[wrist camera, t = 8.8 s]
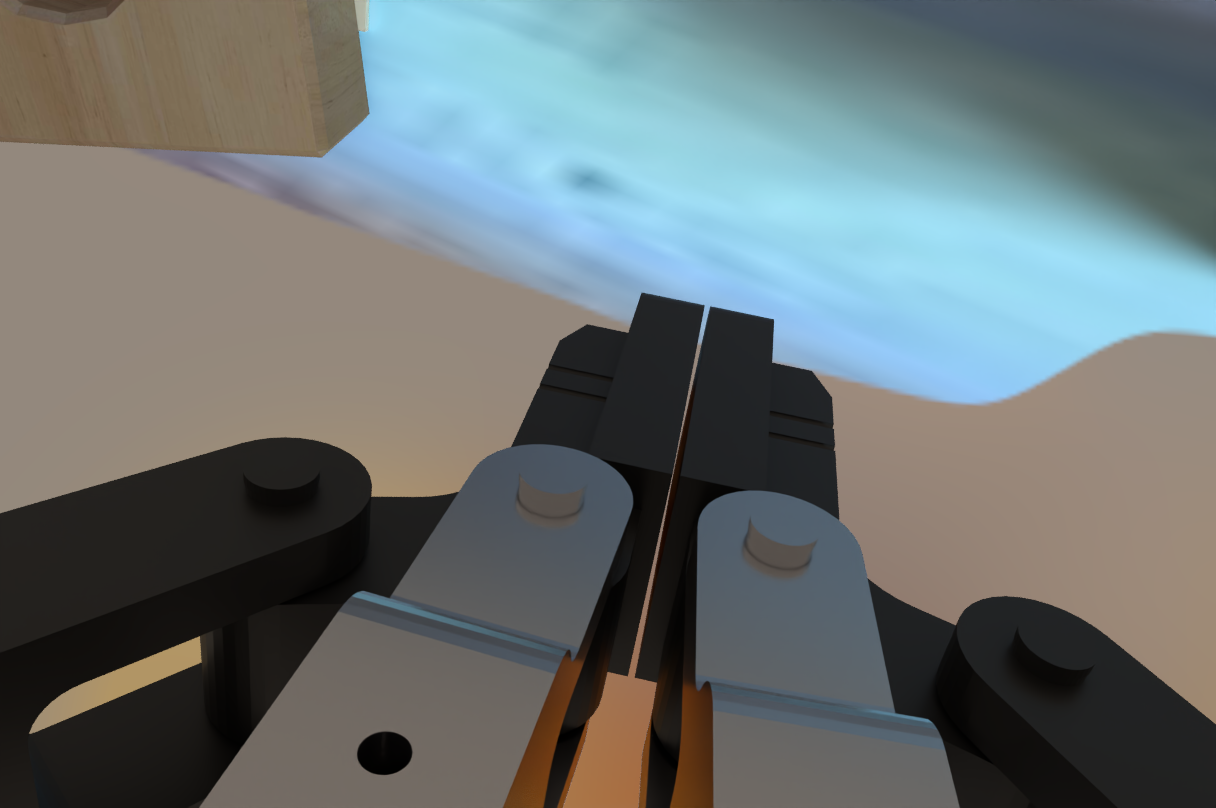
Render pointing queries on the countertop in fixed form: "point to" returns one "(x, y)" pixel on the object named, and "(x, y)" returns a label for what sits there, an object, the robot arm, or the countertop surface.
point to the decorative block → (182, 74)
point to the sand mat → (362, 14)
